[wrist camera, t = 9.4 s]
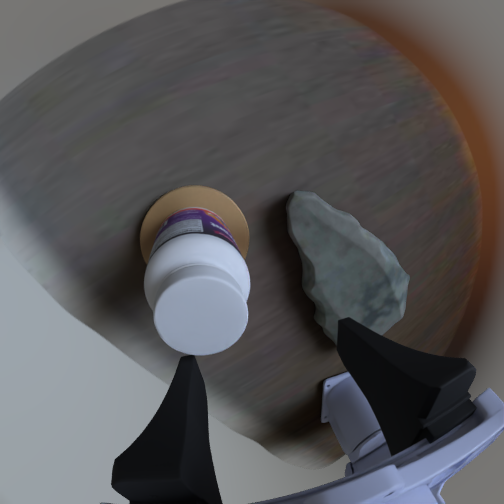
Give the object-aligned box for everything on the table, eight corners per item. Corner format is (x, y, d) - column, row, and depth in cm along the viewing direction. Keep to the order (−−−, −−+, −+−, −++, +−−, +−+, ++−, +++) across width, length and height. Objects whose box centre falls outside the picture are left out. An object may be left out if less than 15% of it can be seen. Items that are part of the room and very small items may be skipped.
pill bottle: (241, 259, 22) (280, 340, 13) (176, 287, 21) (175, 381, 12) (214, 192, 19) (237, 237, 10) (143, 224, 19) (111, 292, 10)
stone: (249, 228, 19) (366, 151, 18) (244, 217, 22) (347, 150, 21) (346, 368, 26) (425, 309, 25) (334, 348, 29) (409, 295, 28)
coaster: (254, 275, 23) (256, 280, 22) (157, 295, 22) (156, 300, 21) (239, 175, 20) (240, 177, 19) (130, 198, 19) (127, 200, 18)
